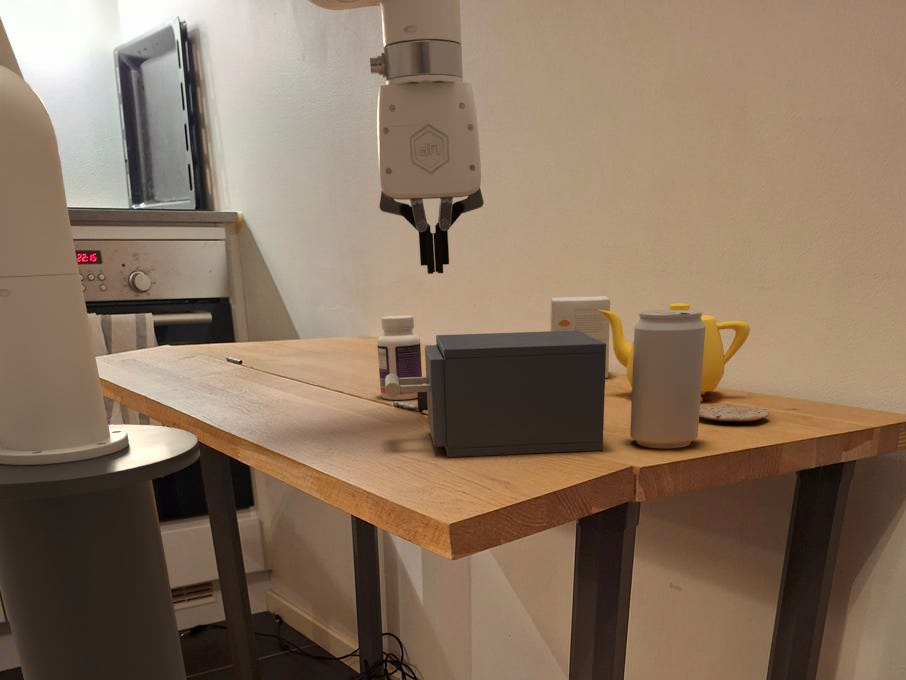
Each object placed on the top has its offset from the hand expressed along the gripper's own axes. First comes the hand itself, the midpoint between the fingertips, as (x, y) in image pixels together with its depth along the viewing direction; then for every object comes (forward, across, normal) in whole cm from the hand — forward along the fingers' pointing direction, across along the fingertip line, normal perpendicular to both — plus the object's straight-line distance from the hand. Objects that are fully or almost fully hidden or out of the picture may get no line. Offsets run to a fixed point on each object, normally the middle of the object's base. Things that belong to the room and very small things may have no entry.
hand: (435, 272), depth 95 cm
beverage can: (+16, +20, -18) cm, 31 cm away
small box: (+16, +21, +28) cm, 38 cm away
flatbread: (+16, +31, -8) cm, 35 cm away
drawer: (+14, +3, -14) cm, 20 cm away
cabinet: (+15, +7, -14) cm, 22 cm away
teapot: (+16, +28, +9) cm, 33 cm away
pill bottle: (+15, -5, +16) cm, 22 cm away
